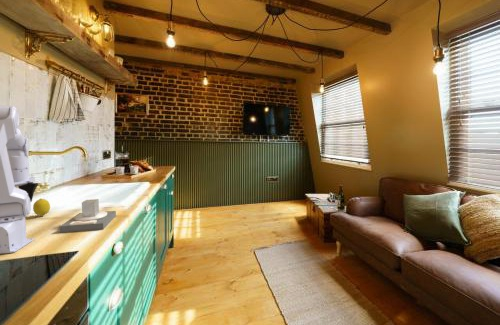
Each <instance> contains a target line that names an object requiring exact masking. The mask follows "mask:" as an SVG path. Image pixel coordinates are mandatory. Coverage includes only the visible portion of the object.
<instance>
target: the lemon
mask: <svg viewBox="0 0 500 325" xmlns="http://www.w3.org/2000/svg"><path fill="white" fill-rule="evenodd" d="M50 209H51V205H50V202H49V201H48V200H47V199H45V198H39V199H37V200H36V201H35V202H34V203H33V206H32V211H33V212H34V214H35V215H37V216H40V217H44V216H45V215H47V214H48V213H49V212H50Z"/></svg>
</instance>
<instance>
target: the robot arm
mask: <svg viewBox="0 0 500 325" xmlns="http://www.w3.org/2000/svg"><path fill="white" fill-rule="evenodd" d="M19 127H20V113H19V110H18V108H17V107H16V106H14V105H10V106H8V105H7V106H6V105H0V255H1V254H2V255H3V254H12V253H16V252H18V251H19V250H20V249H22V248H23V247H25V246H26V245H28V244H30V243H31V242H33V241H34V240H35V238H34V237H31V238H27V237H28V235H27V226H26V225H27V223H26V216H27V217H28V216H29V215H30V214H31V212H32V201H33V197H34V193H35V191H36V189H37V187H38V185H39V184H38V182H36V179H35V178H36V177H31V176H30V167H29V154H30V151H29V150H30V140H29V138H28V137H26V136H24V135H23V134H22V132H21V129H19Z"/></svg>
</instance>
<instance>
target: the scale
mask: <svg viewBox="0 0 500 325" xmlns="http://www.w3.org/2000/svg"><path fill="white" fill-rule="evenodd" d="M116 217H117V211H116V210H110V211H109V210H108V211H104V210H99V214H98V215H96V216H95V217H82V212H78V213H77V214H76V215H75V216H72V217H71V218H70V219H68V220H67V221H65V222H64V223H63V224H61V225H59V233H62V234H63V233H72V232H73V233H75V232H86V231H98V230H101V231H102V230H105V229H106V227H107V226H108V225H110V223H111V222H113V220H114V219H115V218H116Z"/></svg>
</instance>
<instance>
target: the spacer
mask: <svg viewBox="0 0 500 325" xmlns="http://www.w3.org/2000/svg"><path fill="white" fill-rule="evenodd" d="M99 211H100V203H99V198H98V199H97V198H95V199H92V198H91V199H85V200H83V201H82V202H81V213H82V217H95V216H96V215H98V214H99Z"/></svg>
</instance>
